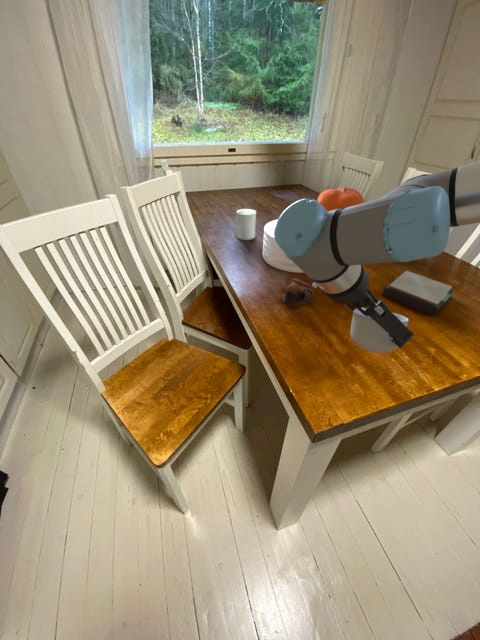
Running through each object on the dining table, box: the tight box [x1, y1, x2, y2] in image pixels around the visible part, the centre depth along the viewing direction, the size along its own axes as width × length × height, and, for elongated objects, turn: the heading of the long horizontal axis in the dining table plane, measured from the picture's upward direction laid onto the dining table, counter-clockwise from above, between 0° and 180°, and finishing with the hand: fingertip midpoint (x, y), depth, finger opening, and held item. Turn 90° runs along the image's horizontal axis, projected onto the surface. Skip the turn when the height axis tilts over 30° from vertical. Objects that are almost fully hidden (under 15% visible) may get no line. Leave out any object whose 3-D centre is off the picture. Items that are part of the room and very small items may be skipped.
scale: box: [382, 270, 455, 317], centre depth 90 cm, size 16×16×4 cm
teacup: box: [349, 308, 410, 354], centre depth 61 cm, size 14×11×8 cm
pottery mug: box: [282, 277, 315, 308], centre depth 87 cm, size 12×10×8 cm
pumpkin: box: [316, 186, 365, 211], centre depth 134 cm, size 23×23×20 cm
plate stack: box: [262, 218, 305, 274], centre depth 111 cm, size 28×28×12 cm
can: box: [235, 208, 257, 241], centre depth 127 cm, size 9×9×12 cm
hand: (377, 322), depth 60 cm, fingers closed on teacup, 13 cm apart
